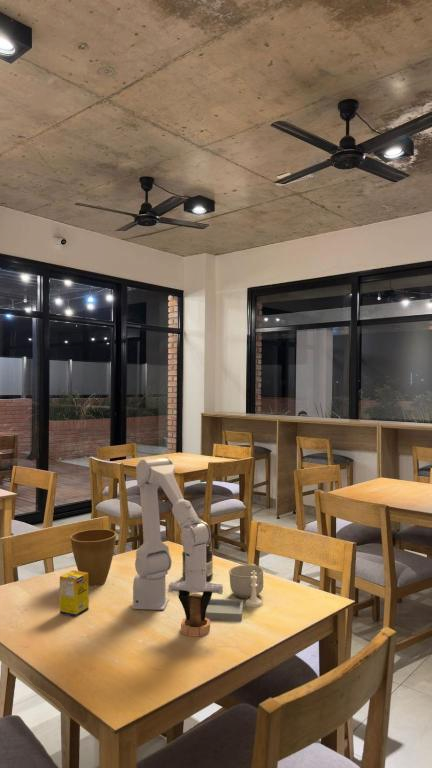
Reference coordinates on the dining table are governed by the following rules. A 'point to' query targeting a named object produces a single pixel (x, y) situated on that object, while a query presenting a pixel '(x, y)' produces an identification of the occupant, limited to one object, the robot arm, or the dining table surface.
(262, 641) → the dining table surface
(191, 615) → the dowel
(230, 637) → the dining table surface
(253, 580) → the chess piece
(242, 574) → the teacup
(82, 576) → the supplement box
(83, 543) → the plant pot
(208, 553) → the supplement container
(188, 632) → the ring holder
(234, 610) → the tray
